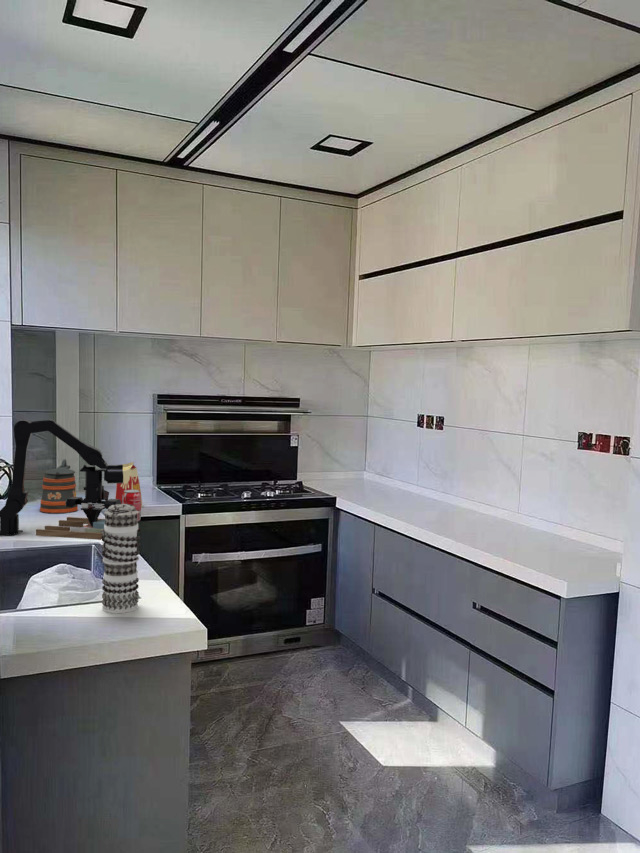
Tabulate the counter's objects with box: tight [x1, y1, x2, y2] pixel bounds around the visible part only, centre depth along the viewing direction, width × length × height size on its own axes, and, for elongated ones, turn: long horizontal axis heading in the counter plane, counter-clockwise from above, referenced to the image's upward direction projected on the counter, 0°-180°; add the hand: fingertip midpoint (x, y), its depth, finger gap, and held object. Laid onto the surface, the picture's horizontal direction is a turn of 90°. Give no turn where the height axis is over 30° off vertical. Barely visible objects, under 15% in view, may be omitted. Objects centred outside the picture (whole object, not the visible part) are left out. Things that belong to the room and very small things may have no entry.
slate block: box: [92, 518, 105, 529], centre depth 246 cm, size 6×6×4 cm
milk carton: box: [114, 461, 144, 509], centre depth 291 cm, size 9×9×20 cm
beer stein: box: [39, 458, 79, 515], centre depth 284 cm, size 19×15×20 cm
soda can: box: [122, 490, 142, 523], centre depth 265 cm, size 7×7×12 cm
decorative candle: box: [101, 504, 142, 614], centre depth 166 cm, size 9×9×25 cm
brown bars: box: [35, 516, 106, 540], centre depth 247 cm, size 23×26×3 cm
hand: (93, 526), depth 247 cm, fingers closed
